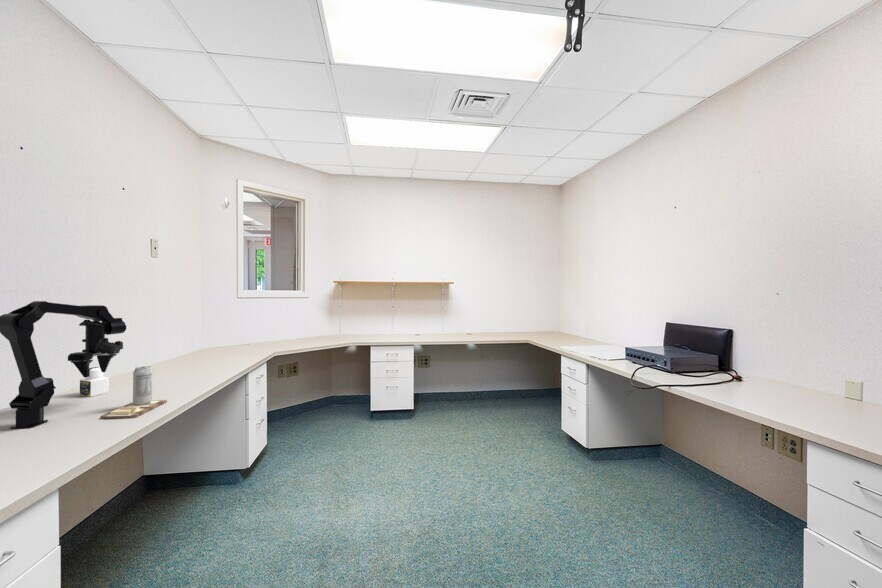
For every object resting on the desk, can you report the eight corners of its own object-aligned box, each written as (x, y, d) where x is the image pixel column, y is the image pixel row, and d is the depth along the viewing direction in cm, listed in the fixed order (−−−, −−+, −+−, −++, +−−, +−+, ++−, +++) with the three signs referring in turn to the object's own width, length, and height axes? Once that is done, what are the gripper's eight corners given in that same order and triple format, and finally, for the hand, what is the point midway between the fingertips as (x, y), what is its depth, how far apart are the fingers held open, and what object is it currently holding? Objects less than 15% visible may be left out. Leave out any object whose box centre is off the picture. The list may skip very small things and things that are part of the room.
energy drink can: (151, 400, 152) (152, 365, 152) (152, 404, 147) (152, 367, 147) (133, 403, 148) (133, 366, 148) (132, 407, 144) (133, 369, 144)
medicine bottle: (79, 395, 162) (79, 368, 162) (98, 391, 169) (98, 365, 169) (90, 397, 160) (90, 370, 160) (108, 392, 167) (109, 366, 167)
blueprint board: (135, 418, 135) (135, 411, 135) (99, 419, 133) (99, 413, 133) (167, 402, 154) (167, 396, 154) (135, 403, 152) (135, 397, 152)
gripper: (99, 338, 139) (99, 379, 139) (133, 333, 157) (132, 369, 158) (66, 339, 137) (66, 380, 137) (104, 333, 156) (103, 369, 156)
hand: (94, 374), depth 147 cm, fingers open, 9 cm apart
